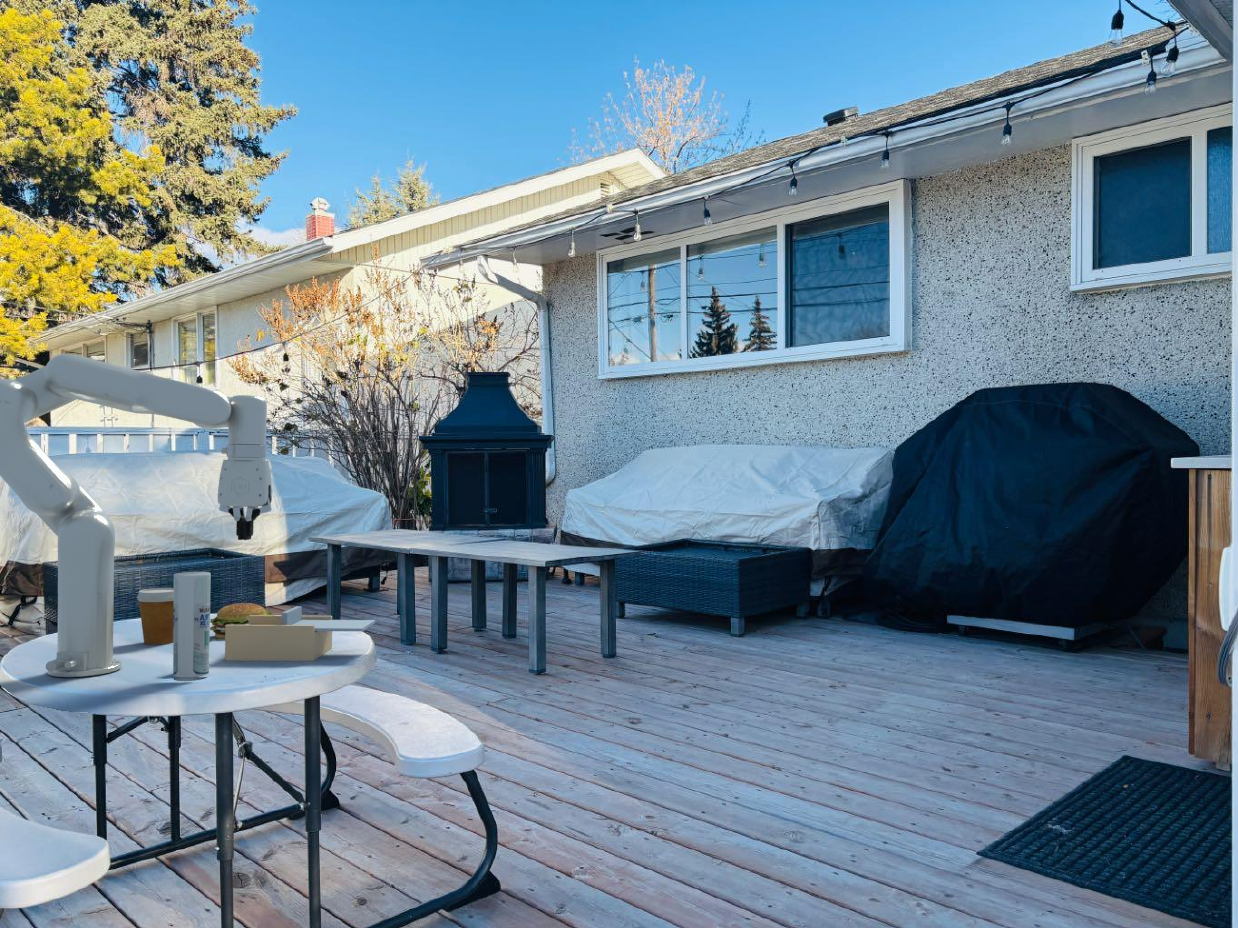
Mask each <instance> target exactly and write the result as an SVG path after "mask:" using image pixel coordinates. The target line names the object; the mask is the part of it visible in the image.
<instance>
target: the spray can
mask: <svg viewBox="0 0 1238 928" xmlns="http://www.w3.org/2000/svg"><path fill="white" fill-rule="evenodd" d="M211 577H212V575H211V572H209V571H184V572H178V573H176V572H175V573H174V574H173V588H174V613H173V642H172V644H173V650H172V651H173V653H172V655H173V656H172V657H173V658H172V659H173V662H172V664H173V665H172V667H173V668H172V670H173V671H172V672H173V673H172V675H173V681H176V682H192V681H193V682H194V681H200V680H201V681H202V680H204V679H207V678H208V676H205V675H208V674H209V673H210V636H211V635H210V633H211V632H210V631H211V630H210V627H211V623H210V621H211V620H210V619H211V583H212V582H211V579H212V578H211Z"/></svg>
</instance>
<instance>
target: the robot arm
mask: <svg viewBox="0 0 1238 928" xmlns="http://www.w3.org/2000/svg"><path fill="white" fill-rule="evenodd" d="M77 400H79V401H83V402H87V403H91V404H96V405H100V406H104V407H107V408H108V407H109V408H112V409H115V410H120V411H123V412H129V413H133V414H141V415H143V414H144V415H145V414H147V415H156V416H157V415H158V416H162V417H167V418H172V419H176V420H181V421H185V422H189V423H193V424H194V425H196V426H197V427H199V428H202V429H208V430H211V429H221V428H227V431H228V432H227V434H228V435H227V436H228V437H227V444H226V446H225V447H222V448H221V454H223V455H226V457H227V459H223V460H222V463H221V468H220V473H219V480H218V487H217V502H218V504H219V508H218V509H219V511H221V512H223V513H227V514H228V513H229V515H230V516H231V517H233V519H234V521H235V522H236V527H235V528H236V531H235V534H236V536H237V541H249V540H252V537H253V536H254V521H256V520H257V518H258V517H259V516H260V515H262V514H265V513H270V512H271V511H272V505H271V503H272V499H273V486H272V485H273V483H272V474H271V473H272V472H271V467H270V462H269V461H270V460H266V459H267V458H266V457H267V456H266V455H267V452H266V451H267V446H266V445H267V414H268V413H267V412H268V411H267V410H268V403H267V400H266V399H265V398H264V397H262V396H258V395H250V394H249V395H247V394H243V395H242V394H240V395H233V396H225V395H224V393H221V392H219V391H217V390H214V389H212V388H211V389H210V388H206V387H203V386H198V385H195V384H191V383H188V382H183V381H179V380H175V379H171V378H167V377H163V376H158V375H156V374H154V373H153V374H152V373H148V372H145V371H140V370H137V369H133V368H128V367H125V366H120V365H117V364H113V363H109V362H104V361H102V360H98V359H93V358H90V357H86V356H83V355H79V354H74V353H60V354H57V355H55V356H54V357H52V358H51V359H50V360H49V361H48V362H47V363H46V365H45V366H43V367H41V368H39V369H36V370H34V371H32V372H31V373H27V374H25V375H23V376H20V377H17V378H15V379H11V378H10V379H9V378H0V477H1V479H2V480H3V481H4V482H5V483H6V484H7V486H9V487H10V489H12V490H13V492H14V493H15V495H17V497H18V498H19V500H20V501H21V502H22V503H23V505H24V506H25V507H26V509H28V510H29V511H31V512H32V513H34V514H36V515H37V516H38V517H39V518H40V519H41V520H42V521H43V522H44V524H45V525H46V526H47V527H48V529H50V530H51V531H52V532H53V533H54V534H55V536H56V537H57V652H56V656H55V657H56V658H55V659H53V660H49V661H48V662H46V663H45V669H46V671H47V674H48V675H49V676H51V677H59V678H80V677H83V678H84V677H90V676H91V677H92V676H99V675H104V674H105V675H106V674H108V673H109V674H110V673H113V672H115V671H118V670H120V669H122V661H121V660H119V659H114V608H115V607H114V601H115V599H114V595H115V593H114V592H115V591H114V589H115V588H114V587H115V585H114V583H115V582H114V580H115V578H114V576H115V575H114V574H115V550H116V549H115V547H116V546H115V545H116V531H115V526H114V524H113V521H112V520H111V518H110V517H109V516H108V514H107V513H106V512H104V510H103V509H102V508H101V507H100V506H99V504H98V503H97V502H96V501H94V499H93V498H92V497H91V496H90V494H89V493H88V492H87V491H86V490H85V489H84V488H83V486H81V485H80V483H79V482H78V481H77V480H76V479H75V478H74V477H73V476H72V474H70V473H69V472H68V471H66V470H64V469H62V468H60V467H59V465H57V464H56V463H55V462H54V461H53V460H52V458H51V457H49V455H48V454H47V453H46V452H45V451H44V449H43V448H42V447H41V446H40V445H39V443H38V442H37V441H36V440H35V439H34V438H33V437H32V435H30V433H29V432H28V429H27V427H26V426H25V423H28V422H30V421H32V420H34V419H37V418H39V417H41V416H43V415H46V414H47V413H50V412H52V411H55V410H57V409H59V408H62V407H64V406H66V405H68V404H70V403H72V402H74V401H77ZM245 507H246V511H245Z"/></svg>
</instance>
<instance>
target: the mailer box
mask: <svg viewBox="0 0 1238 928" xmlns="http://www.w3.org/2000/svg"><path fill="white" fill-rule="evenodd" d="M281 617H282V614H281V615H280V614H279V615H275V614H274V615H249V621H248V624H245V625H225V639H224V642H225V643H224V661H225V662H227V661H228V662H229V661H230V662H231V661H233V662H234V661H236V662H238V661H239V662H240V661H241V662H242V661H244V662H253V661H254V662H314V661H316V660H317V659H319V658H320V657H321V656H323V655H324V654H326V653H327V652H329V651H331V650H333V631H315V625H281ZM302 620H333V615H302Z"/></svg>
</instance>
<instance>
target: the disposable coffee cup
mask: <svg viewBox="0 0 1238 928" xmlns="http://www.w3.org/2000/svg"><path fill="white" fill-rule="evenodd" d="M136 599H137V601H138V606H139V612H140V613H139V614H140V621H141V628H142V629H141V630H142V636H143V644H144V645H149V646H159V645H167V644H173V613H174V587H155V588H153V587H152V588H146V589H139V591H138V594H137V596H136Z"/></svg>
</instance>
